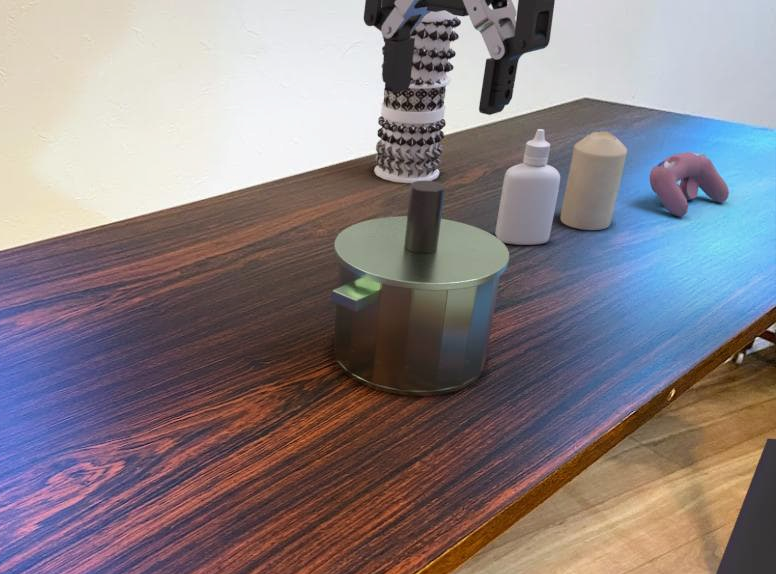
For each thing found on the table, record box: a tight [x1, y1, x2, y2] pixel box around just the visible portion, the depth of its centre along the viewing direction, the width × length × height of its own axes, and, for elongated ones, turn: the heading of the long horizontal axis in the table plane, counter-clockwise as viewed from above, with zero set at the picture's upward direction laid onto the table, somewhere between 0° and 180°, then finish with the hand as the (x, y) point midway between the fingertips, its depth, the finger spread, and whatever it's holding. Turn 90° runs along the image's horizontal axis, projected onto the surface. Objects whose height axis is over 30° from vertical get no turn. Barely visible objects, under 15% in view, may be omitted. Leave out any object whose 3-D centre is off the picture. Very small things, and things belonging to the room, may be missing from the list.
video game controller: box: [649, 151, 730, 218], centre depth 108 cm, size 10×5×7 cm, turn 124°
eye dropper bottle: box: [494, 128, 561, 246], centre depth 96 cm, size 4×6×12 cm
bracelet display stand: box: [373, 10, 462, 184], centre depth 112 cm, size 9×9×25 cm
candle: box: [560, 131, 628, 231], centre depth 101 cm, size 6×6×10 cm
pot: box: [331, 261, 501, 397], centre depth 75 cm, size 13×18×10 cm
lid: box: [333, 180, 510, 290], centre depth 71 cm, size 14×14×6 cm
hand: (441, 101), depth 67 cm, fingers open, 8 cm apart
